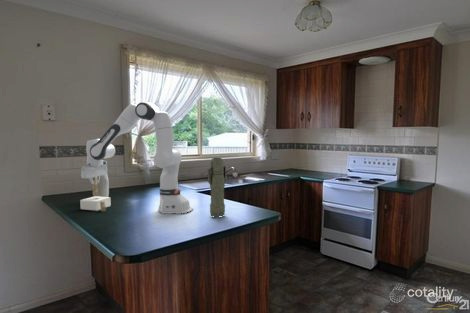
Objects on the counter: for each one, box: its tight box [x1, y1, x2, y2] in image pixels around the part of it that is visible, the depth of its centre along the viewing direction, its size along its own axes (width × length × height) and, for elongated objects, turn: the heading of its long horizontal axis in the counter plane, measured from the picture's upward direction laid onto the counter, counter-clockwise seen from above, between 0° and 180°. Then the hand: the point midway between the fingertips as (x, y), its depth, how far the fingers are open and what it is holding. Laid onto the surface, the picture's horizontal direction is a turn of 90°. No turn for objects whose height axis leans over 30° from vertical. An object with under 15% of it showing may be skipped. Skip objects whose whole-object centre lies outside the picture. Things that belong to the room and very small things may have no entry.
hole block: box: [79, 195, 112, 211], centre depth 196 cm, size 13×13×6 cm
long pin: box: [91, 177, 98, 196], centre depth 195 cm, size 3×3×14 cm
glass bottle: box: [93, 174, 110, 197], centre depth 216 cm, size 10×10×28 cm
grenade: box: [207, 157, 227, 217], centre depth 174 cm, size 9×12×35 cm
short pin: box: [100, 201, 107, 212], centre depth 187 cm, size 3×3×6 cm
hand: (95, 183), depth 195 cm, fingers closed on long pin, 3 cm apart
